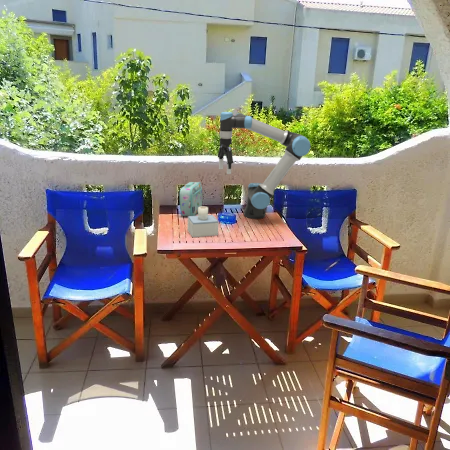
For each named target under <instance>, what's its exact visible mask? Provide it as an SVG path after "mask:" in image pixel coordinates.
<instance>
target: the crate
mask: <svg viewBox="0 0 450 450" xmlns="http://www.w3.org/2000/svg"><path fill="white" fill-rule="evenodd" d="M219 223H220V222H218V223H209V224H192V222H191V221H190V220H189V218H188V217H187V228H186V229H187V231H188V233H189V235H190V236H191V238H201V237H212V236H213V237H214V236H219Z"/></svg>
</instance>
